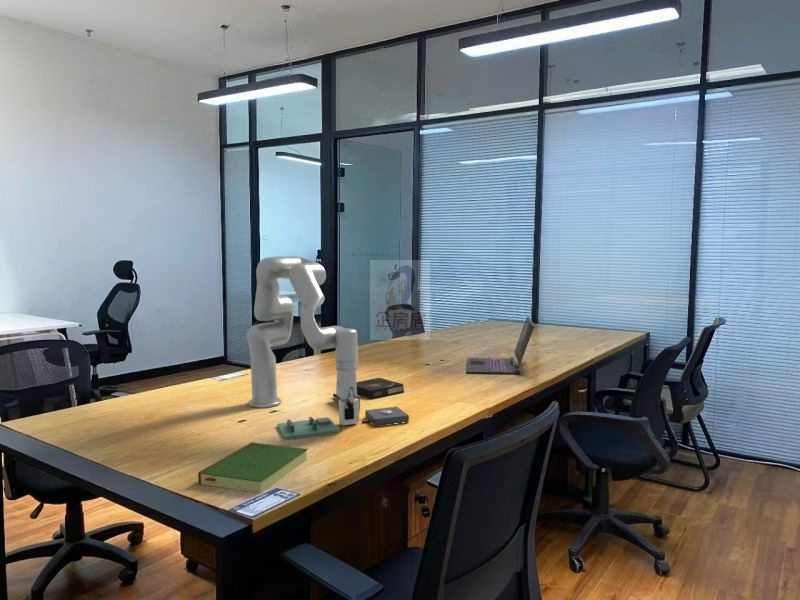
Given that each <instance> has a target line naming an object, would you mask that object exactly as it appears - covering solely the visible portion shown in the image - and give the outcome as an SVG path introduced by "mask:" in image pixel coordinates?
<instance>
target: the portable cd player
mask: <svg viewBox="0 0 800 600" xmlns="http://www.w3.org/2000/svg"><path fill="white" fill-rule="evenodd" d="M356 384H357V395H359V397H363V398H366V399H369V400H376V399H380V398H386V397H388V396H389V397H390V396H394V395H395V396H396V395H399V394H404V392H405V387H404V383H400V382H398V381H397V382H396V381H393V380H389V379H385V378H381V377H375V378H370V379H366V380H365V379H364V380H359V381H356Z"/></svg>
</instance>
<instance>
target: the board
mask: <svg viewBox="0 0 800 600" xmlns="http://www.w3.org/2000/svg"><path fill="white" fill-rule="evenodd" d="M277 429H278V430H279V432H280V433H281V435H282V438H283V439H284V441H288V440H293V439H294V440H295V439H302V438H304V439H305V438H310V437H311V438H312V437H317V436H327V435H333V434H334V433H335V434H340V433H341V430H340V428H339V427H338V426H337V425H336V424H335V423H334V421H333V420H331V418H329V417H327V416H325V417H318V418H313V416H309V417H308V419H305V420H299V421H298V420H297V421H296V420H295V421H292V420H291V419H287V420H286V422H281V423H280V422H279V423H277ZM335 434H334V435H335Z"/></svg>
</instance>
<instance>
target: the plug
mask: <svg viewBox="0 0 800 600" xmlns="http://www.w3.org/2000/svg"><path fill="white" fill-rule="evenodd" d="M348 399H350V398H348ZM354 401H355V403H354V419H350V420H345V400H342V399H339V403H338V422H339V424H340V425H341V426H350V425H356V424H357V423H360V411H359V399H354ZM347 402H349V401H347Z"/></svg>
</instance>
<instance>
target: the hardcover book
mask: <svg viewBox="0 0 800 600" xmlns="http://www.w3.org/2000/svg"><path fill="white" fill-rule="evenodd" d="M307 451H308V448H305V447H304V448H303V447H295V446H286V445H279V444H268V443H261V442H260V443H259V442H250V443H248V444H247V445H244V446H242V447H240V448H239V449H237V450H235V451H234V452H232V453H229V455H226V456H225V457H223V458H221V459H219V460H217V461H216V462H214V463H211V465H208V466H206V467H205V468H204V469H201V470H200V471H198V472H197V473H198V474H197V476H198V485H203V484H204V485H203V486H211V487H217V488H223V489H230V490H237V491H244V492H251V493H258V494H261V493H263V492H264V491H266V490H268V489H269V488H270V487H271V486H273V485H274V484H275V483H277V482H278V481H279V480H281V479H283V478H284V477H285V476H286V475H288V474H289V473H290V472H292V471H294V470H295V469H297V468H298V467H299V466H300V465H302V464H303V463H304V462H306V461H307V460H308V459H307V458H308V457H307V456H308V455H307Z"/></svg>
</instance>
